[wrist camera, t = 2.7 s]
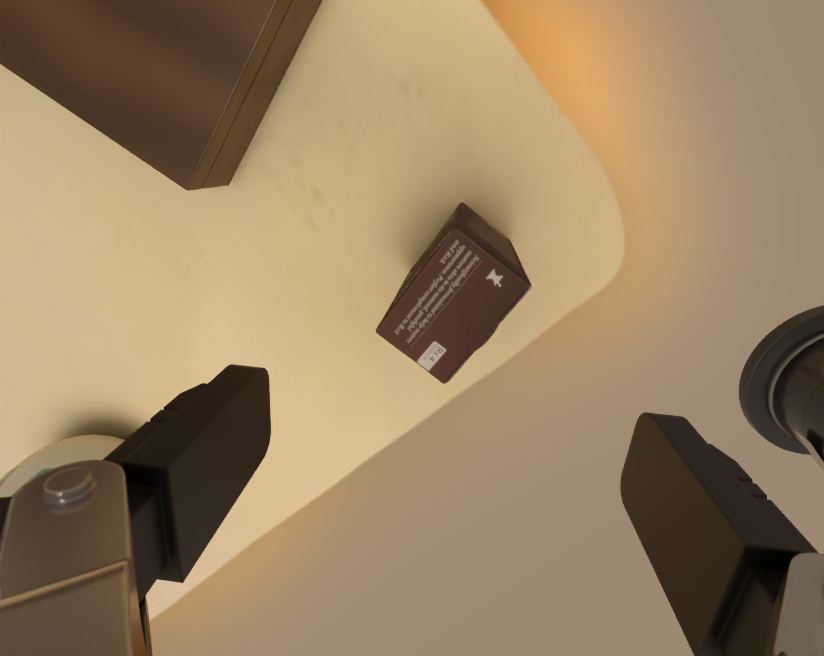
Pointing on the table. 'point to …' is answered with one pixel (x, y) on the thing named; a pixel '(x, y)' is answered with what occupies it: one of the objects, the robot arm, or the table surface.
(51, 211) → the table surface
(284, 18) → the rack
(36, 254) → the table surface
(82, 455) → the vase
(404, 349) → the box
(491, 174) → the table surface
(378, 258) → the table surface
